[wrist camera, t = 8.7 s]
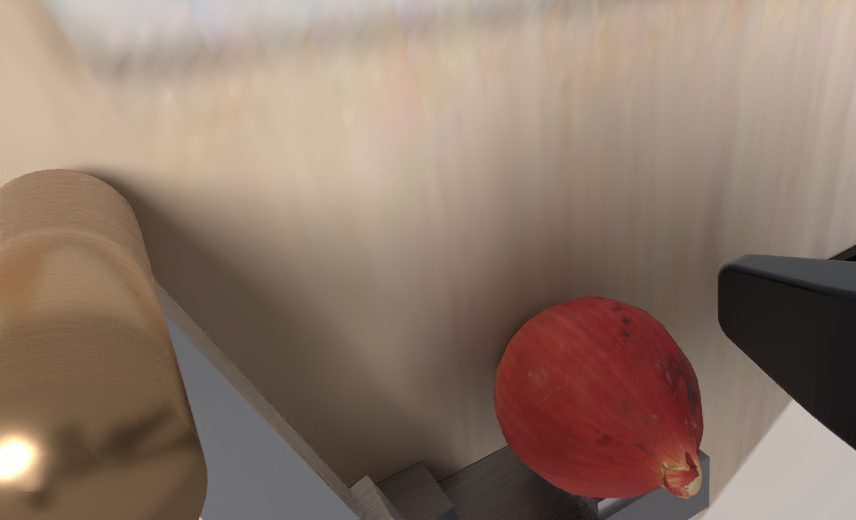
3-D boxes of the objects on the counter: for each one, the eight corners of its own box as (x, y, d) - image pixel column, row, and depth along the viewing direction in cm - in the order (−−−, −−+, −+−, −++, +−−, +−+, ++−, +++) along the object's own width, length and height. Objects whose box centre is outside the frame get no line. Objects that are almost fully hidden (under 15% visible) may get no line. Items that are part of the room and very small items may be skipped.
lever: (395, 496, 22) (561, 762, 15) (310, 566, 22) (438, 878, 14) (81, 134, 14) (98, 312, 7) (-64, 229, 14) (-215, 531, 6)
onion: (538, 227, 22) (738, 338, 16) (616, 319, 25) (810, 443, 19) (418, 361, 22) (569, 531, 15) (513, 437, 25) (672, 604, 19)
